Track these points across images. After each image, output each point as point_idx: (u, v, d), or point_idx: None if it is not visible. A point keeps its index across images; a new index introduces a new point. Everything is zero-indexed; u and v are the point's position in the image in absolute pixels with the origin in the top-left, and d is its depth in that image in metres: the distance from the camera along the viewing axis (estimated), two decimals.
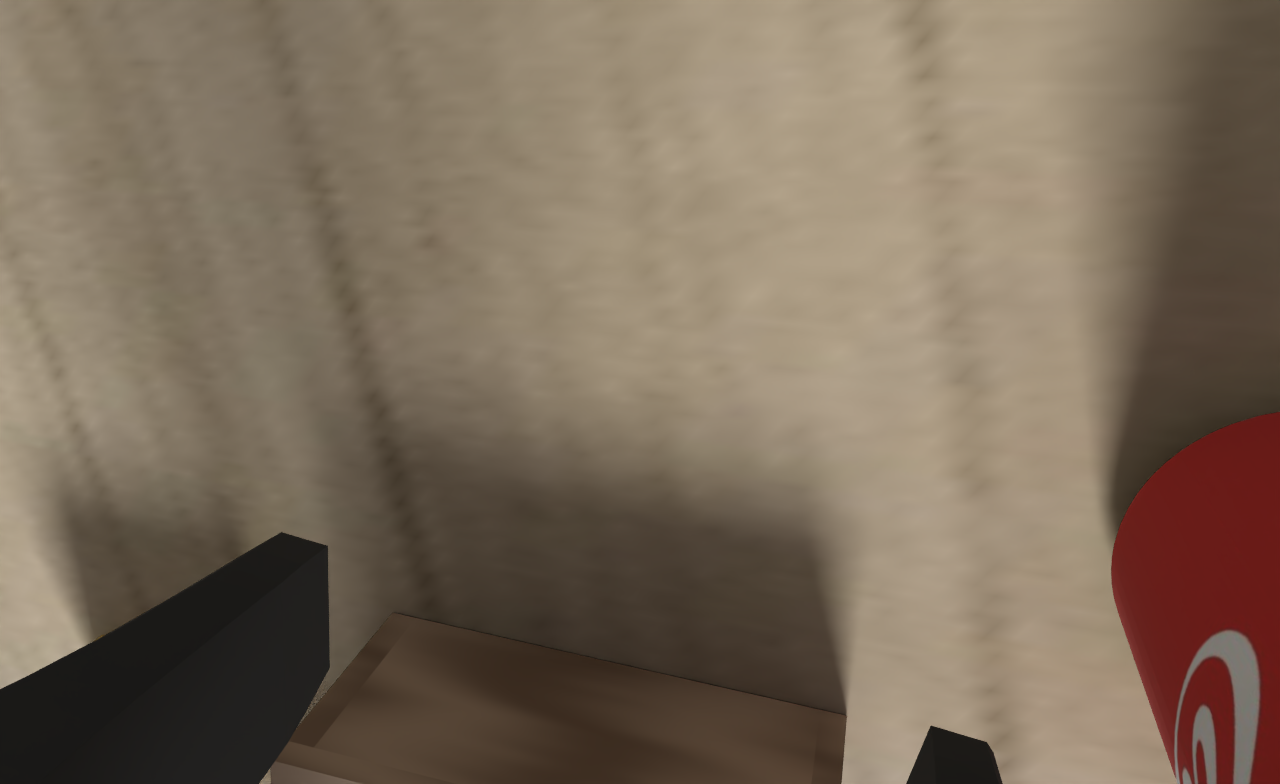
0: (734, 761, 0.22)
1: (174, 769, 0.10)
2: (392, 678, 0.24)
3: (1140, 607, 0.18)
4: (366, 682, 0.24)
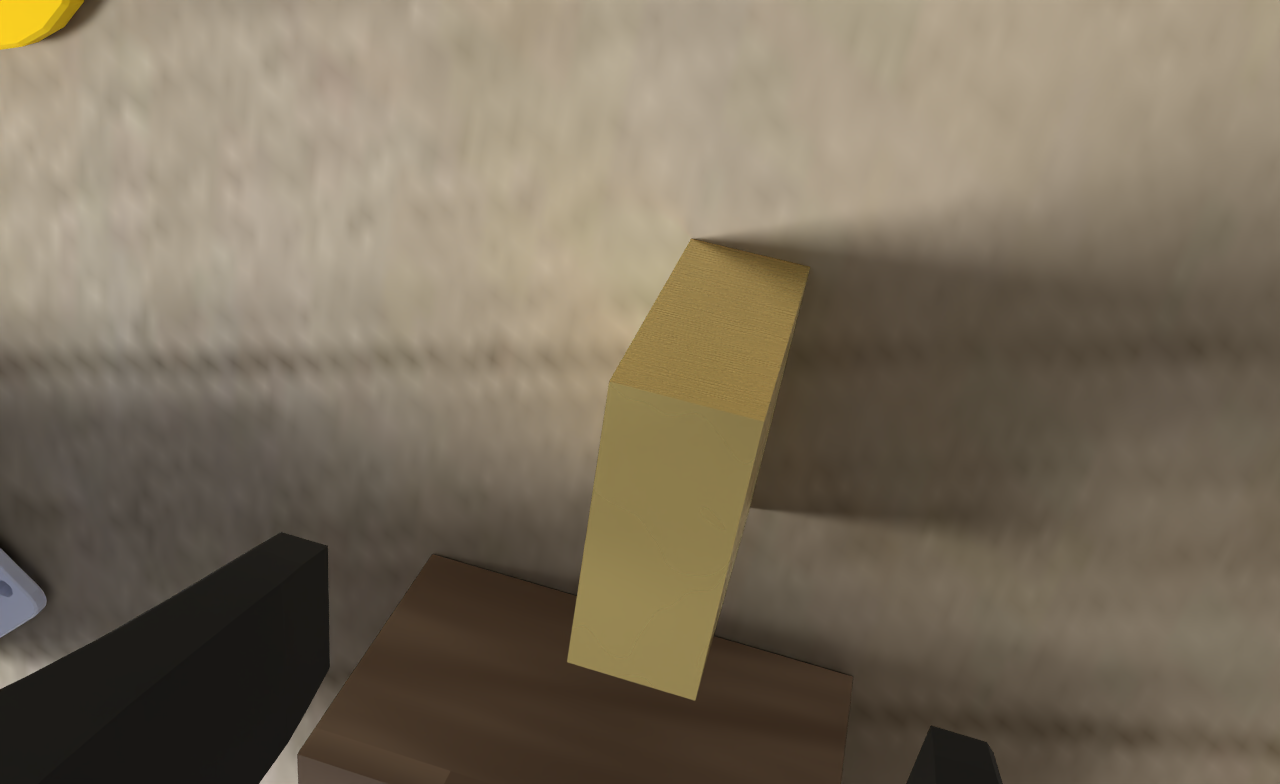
0: None
1: (174, 769, 0.10)
2: None
3: None
4: None
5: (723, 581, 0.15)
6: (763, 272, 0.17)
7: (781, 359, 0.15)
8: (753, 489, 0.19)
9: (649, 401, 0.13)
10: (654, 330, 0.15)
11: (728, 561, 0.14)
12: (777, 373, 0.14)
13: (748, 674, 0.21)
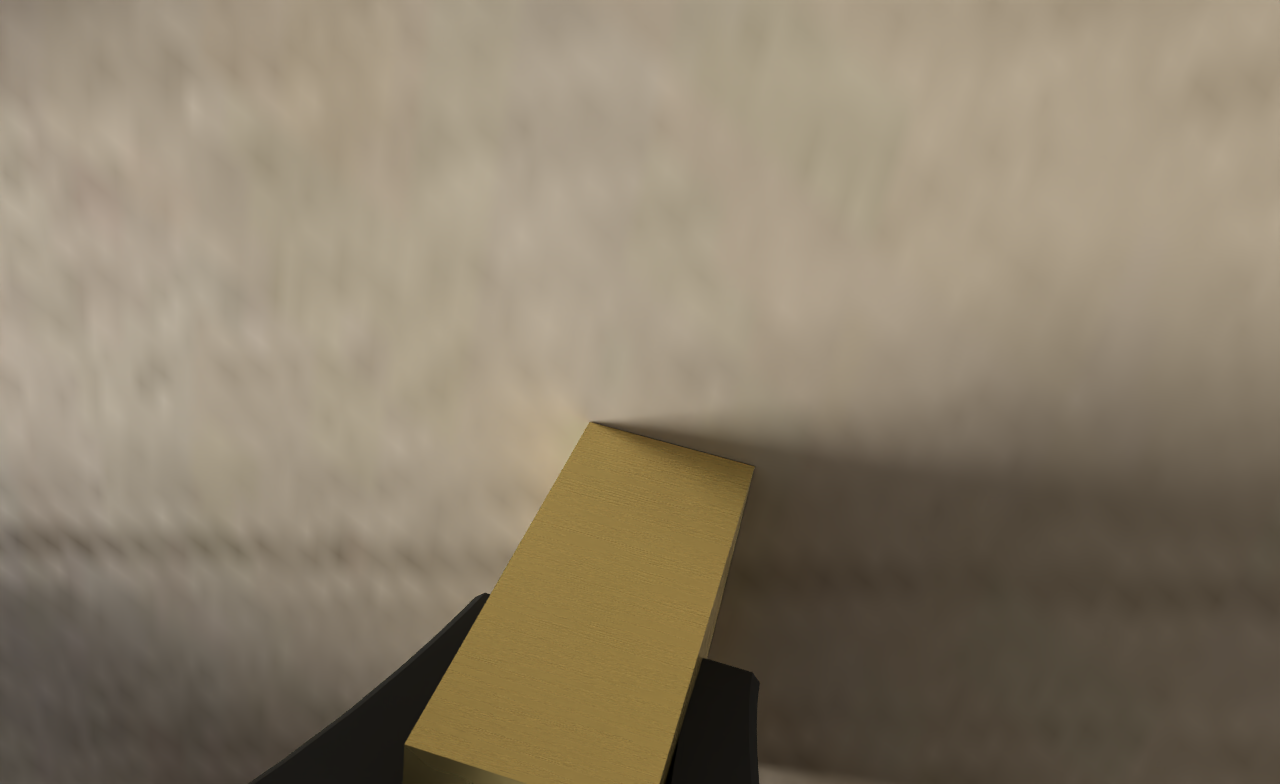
0: None
1: None
2: None
3: None
4: None
5: None
6: (685, 483, 0.12)
7: (692, 668, 0.10)
8: None
9: (468, 777, 0.08)
10: (500, 618, 0.10)
11: None
12: (682, 700, 0.09)
13: None
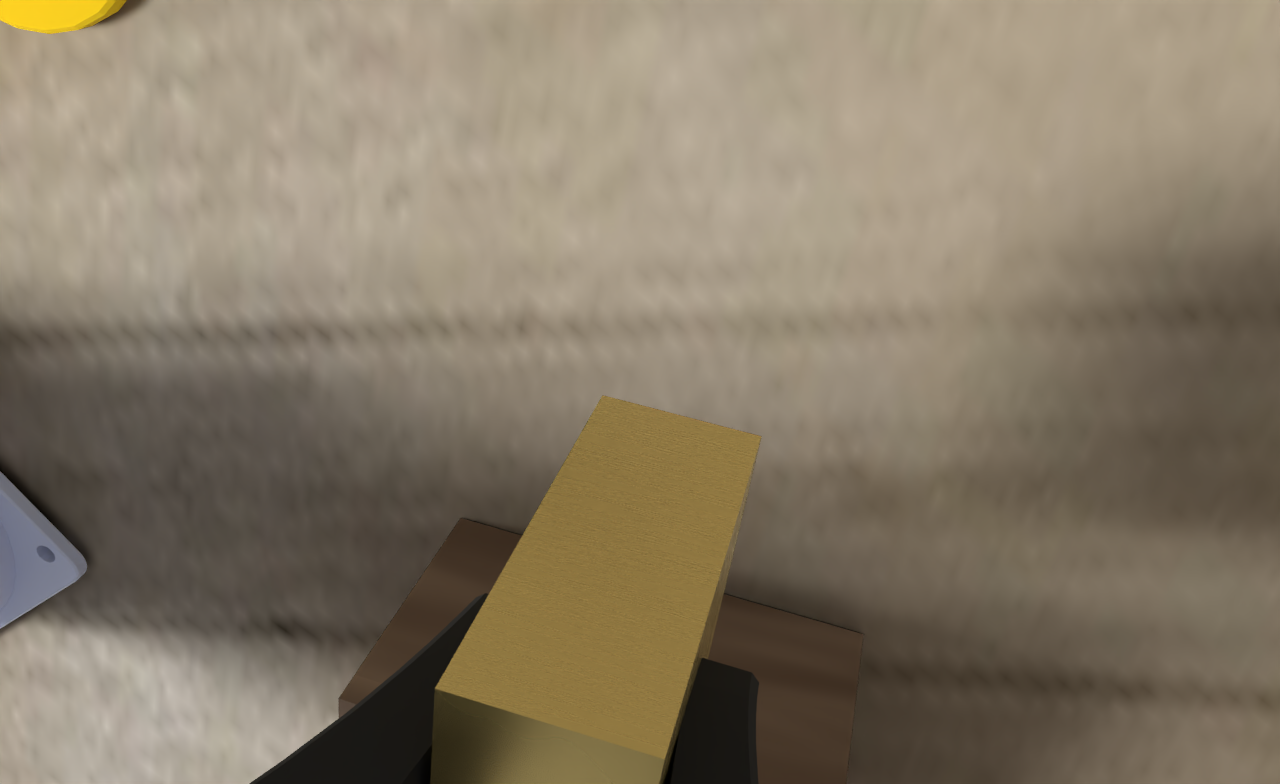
0: None
1: None
2: None
3: None
4: None
5: None
6: (694, 452, 0.12)
7: (704, 621, 0.10)
8: None
9: (495, 717, 0.09)
10: (521, 575, 0.10)
11: None
12: (695, 649, 0.10)
13: (763, 631, 0.22)
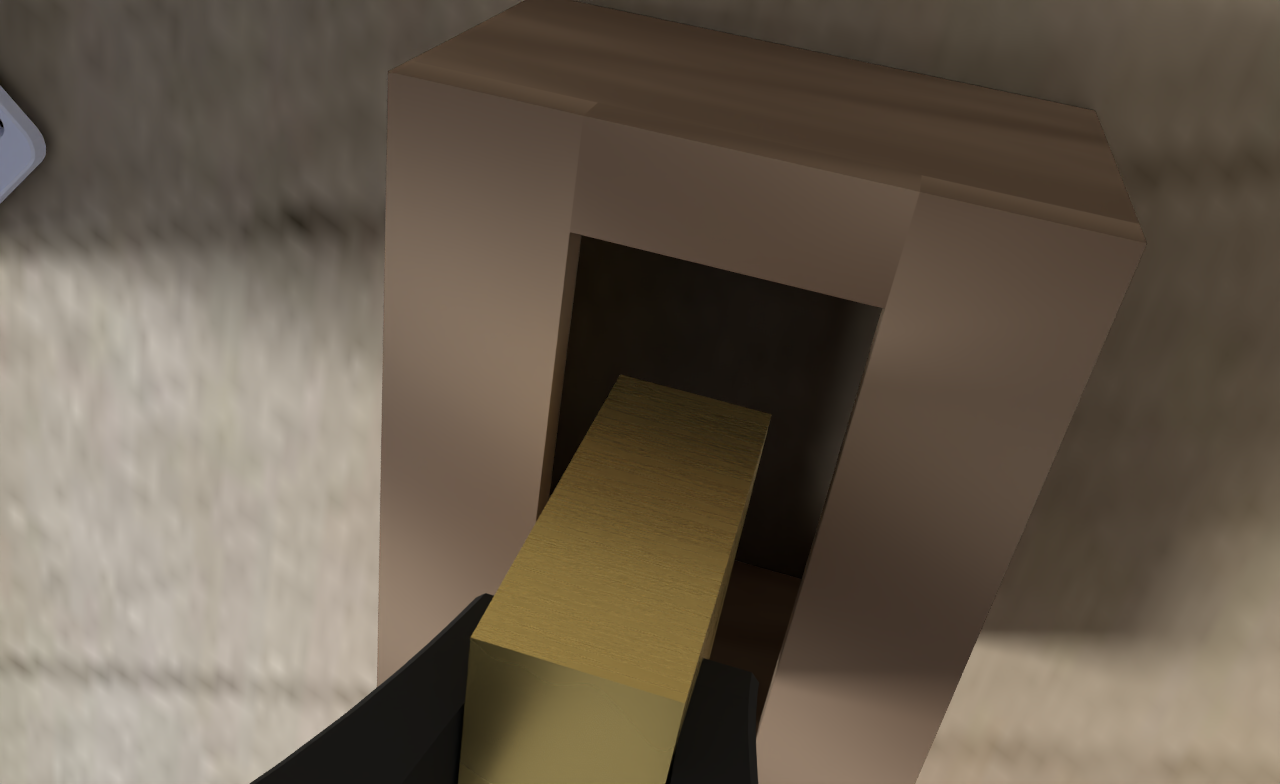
0: None
1: None
2: None
3: None
4: None
5: None
6: (708, 428, 0.13)
7: (719, 581, 0.11)
8: None
9: (527, 666, 0.10)
10: (548, 537, 0.11)
11: None
12: (712, 606, 0.10)
13: (962, 95, 0.16)
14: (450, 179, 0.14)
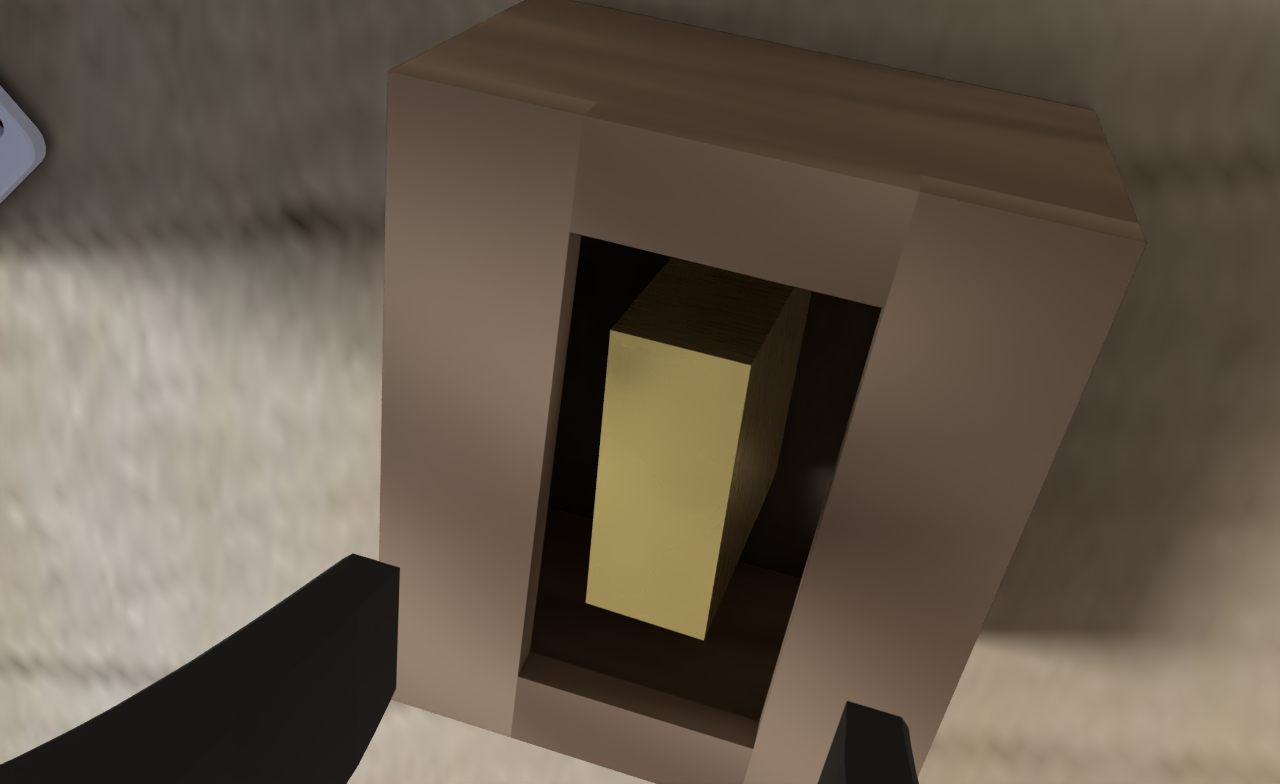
0: None
1: None
2: None
3: None
4: None
5: (723, 522, 0.16)
6: None
7: (778, 313, 0.16)
8: (773, 451, 0.19)
9: (647, 347, 0.15)
10: (660, 289, 0.16)
11: (726, 502, 0.15)
12: (772, 325, 0.15)
13: (962, 94, 0.16)
14: (450, 179, 0.14)
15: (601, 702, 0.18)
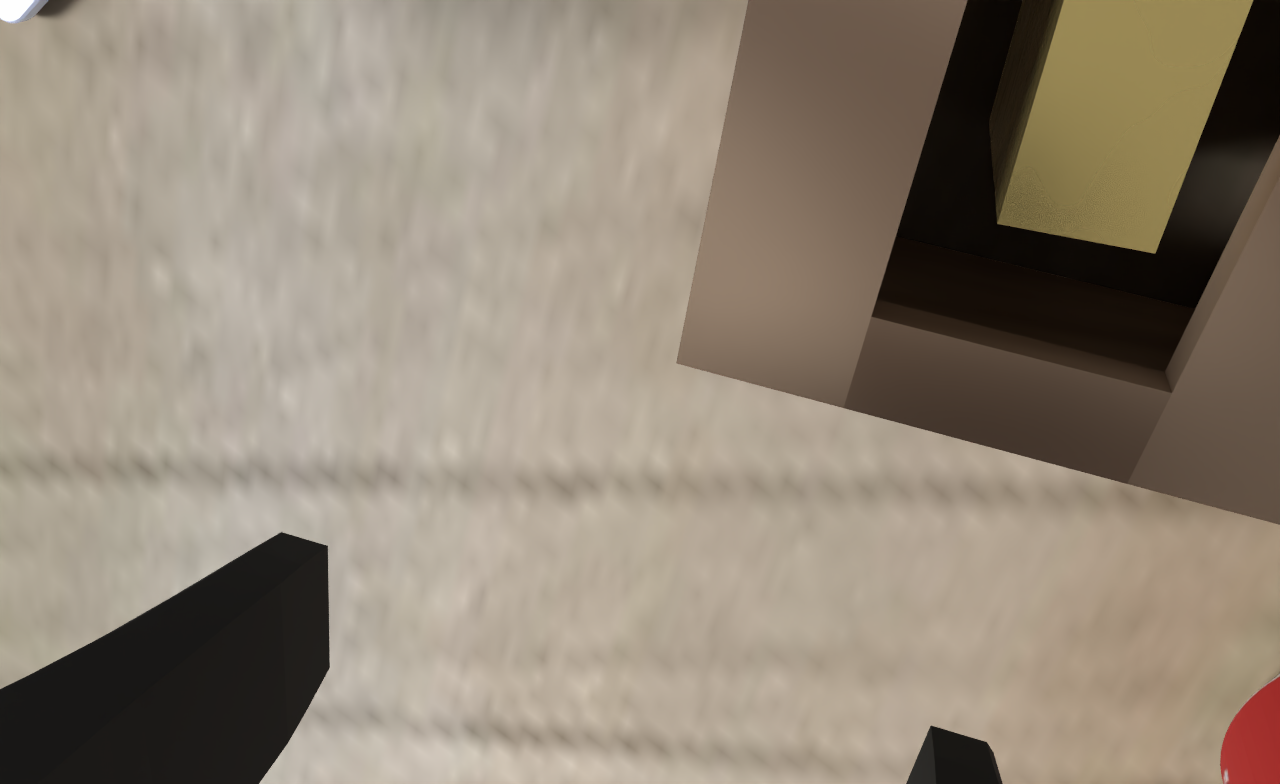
0: None
1: (174, 769, 0.10)
2: None
3: None
4: None
5: (1224, 69, 0.13)
6: None
7: None
8: None
9: None
10: None
11: (1237, 38, 0.12)
12: None
13: None
14: None
15: (975, 346, 0.14)
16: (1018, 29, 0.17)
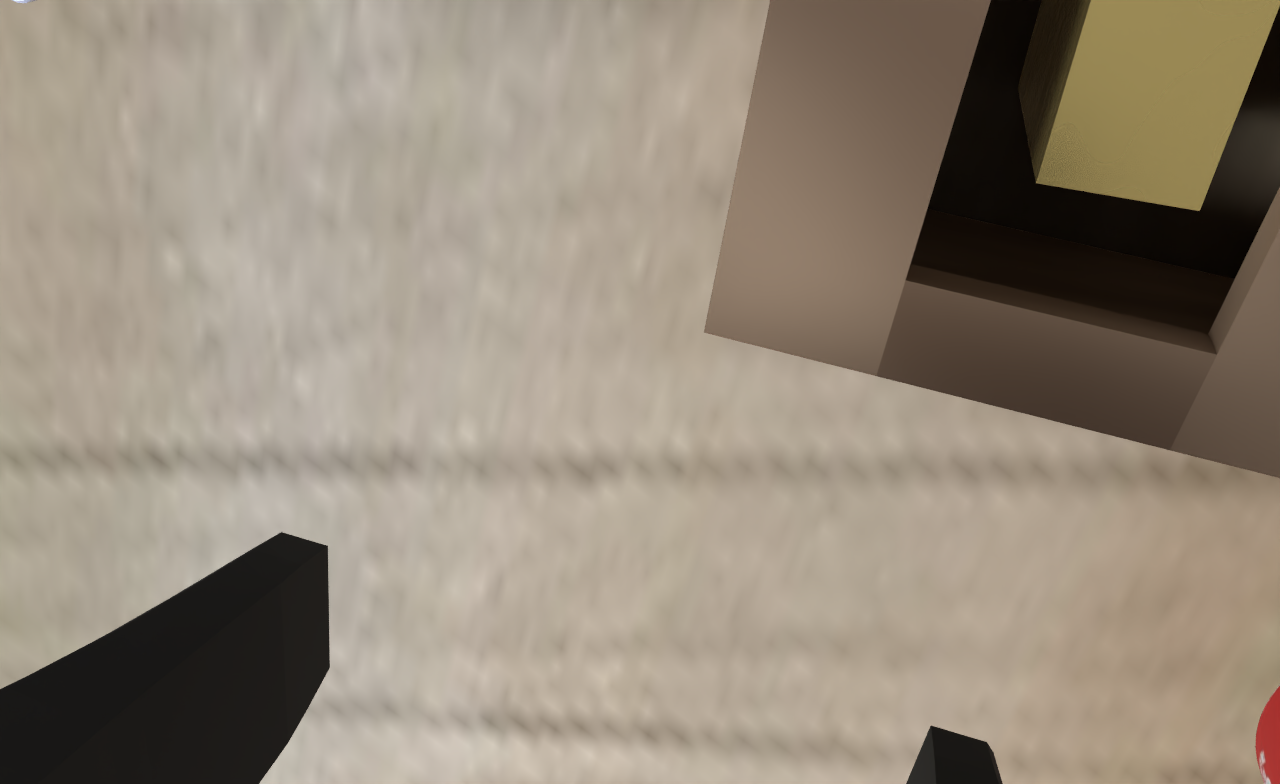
0: None
1: (174, 769, 0.10)
2: None
3: None
4: None
5: (1273, 17, 0.12)
6: None
7: None
8: None
9: None
10: None
11: None
12: None
13: None
14: None
15: (1013, 309, 0.14)
16: None
